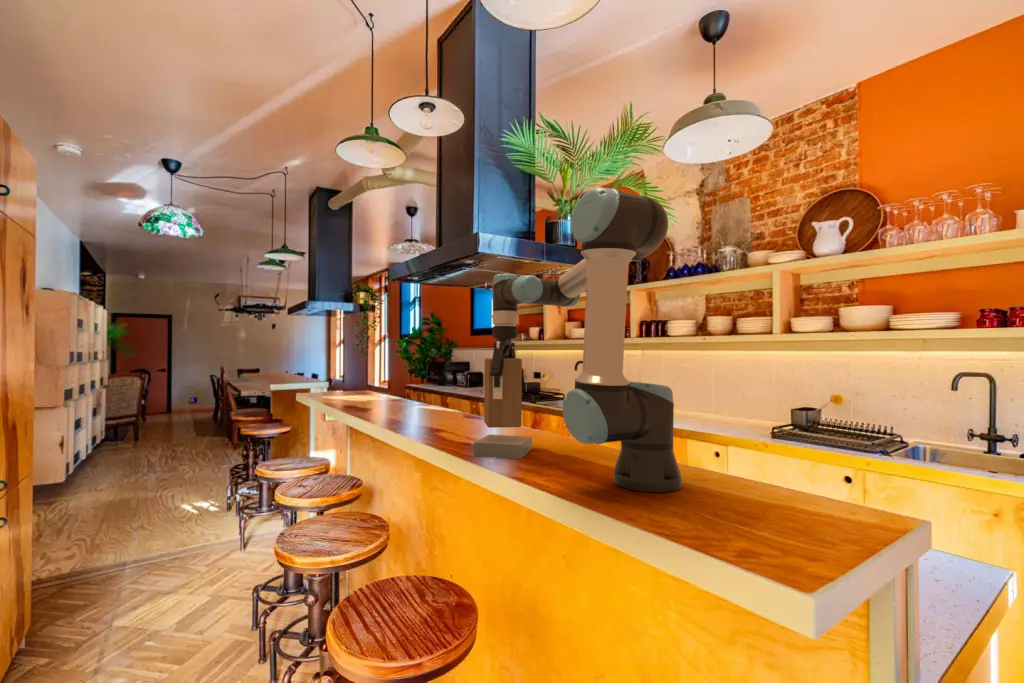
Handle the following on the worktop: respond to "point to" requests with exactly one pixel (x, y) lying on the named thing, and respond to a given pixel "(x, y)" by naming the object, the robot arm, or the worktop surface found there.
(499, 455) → the grey flat square block
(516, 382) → the wooden block
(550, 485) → the worktop surface
